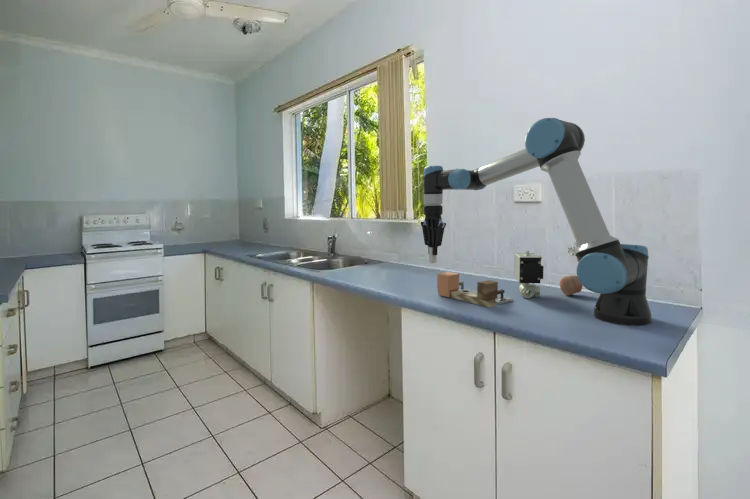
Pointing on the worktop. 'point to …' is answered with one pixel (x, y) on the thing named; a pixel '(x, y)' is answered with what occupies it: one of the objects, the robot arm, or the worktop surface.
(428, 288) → the worktop surface
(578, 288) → the tan rounded lump
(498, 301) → the flange strip
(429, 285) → the worktop surface
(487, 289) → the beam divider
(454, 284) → the block
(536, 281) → the ball valve
